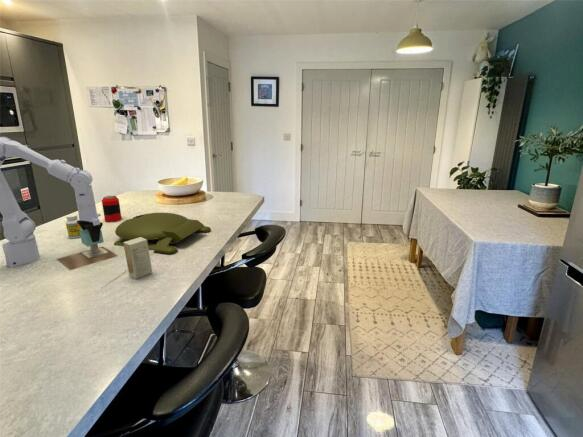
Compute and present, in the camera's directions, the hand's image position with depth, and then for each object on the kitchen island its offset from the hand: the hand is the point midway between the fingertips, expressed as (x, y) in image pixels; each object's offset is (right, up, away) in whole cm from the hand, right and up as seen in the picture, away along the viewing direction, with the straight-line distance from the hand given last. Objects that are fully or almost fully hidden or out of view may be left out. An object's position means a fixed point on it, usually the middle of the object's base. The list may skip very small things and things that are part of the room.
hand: (92, 239), depth 127 cm
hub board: (0, -7, -2) cm, 8 cm away
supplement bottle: (-20, 0, +21) cm, 29 cm away
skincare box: (+24, -11, -13) cm, 29 cm away
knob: (0, -1, 0) cm, 1 cm away
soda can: (-15, +7, +44) cm, 47 cm away
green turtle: (+17, -1, +21) cm, 27 cm away
